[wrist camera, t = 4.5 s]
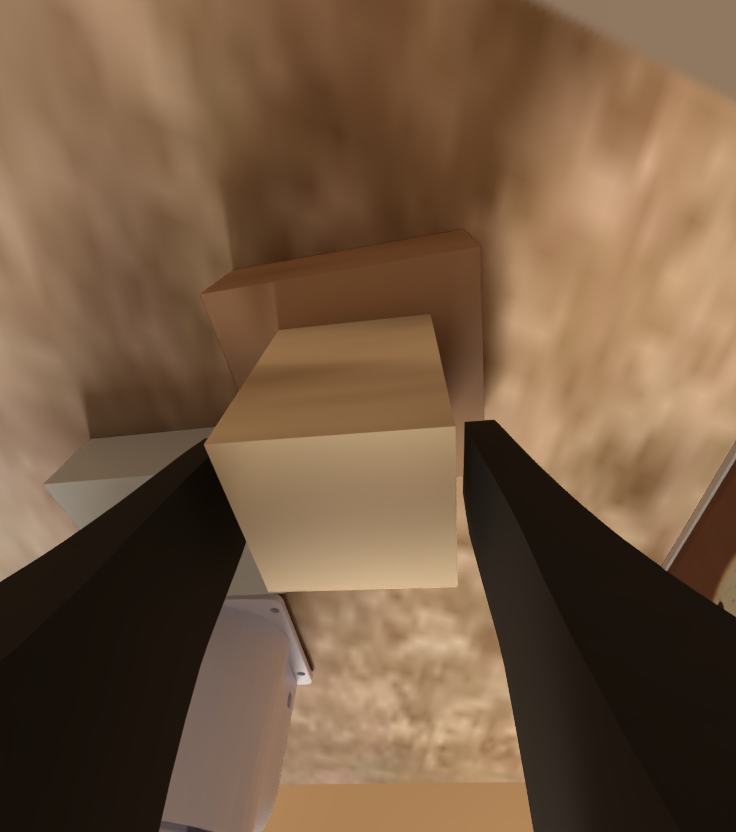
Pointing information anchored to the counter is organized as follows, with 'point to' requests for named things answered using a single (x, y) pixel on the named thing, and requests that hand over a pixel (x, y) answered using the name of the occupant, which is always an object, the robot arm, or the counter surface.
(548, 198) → the counter surface
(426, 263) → the walnut block
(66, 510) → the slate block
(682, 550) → the food container
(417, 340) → the maple cube
